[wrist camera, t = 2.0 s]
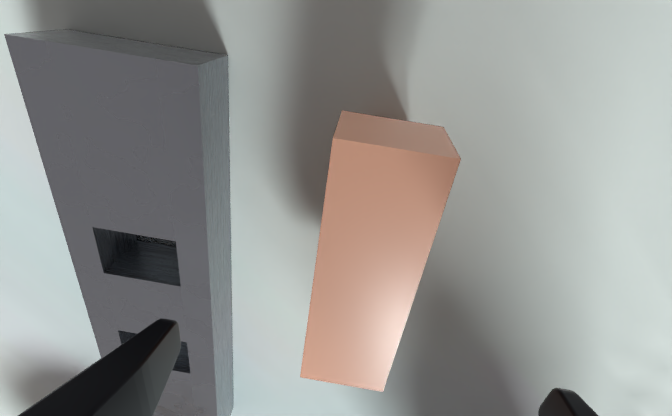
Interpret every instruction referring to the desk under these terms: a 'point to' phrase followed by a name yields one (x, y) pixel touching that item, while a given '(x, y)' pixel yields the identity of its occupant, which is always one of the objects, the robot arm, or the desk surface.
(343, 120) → the peach rectangular block
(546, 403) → the robot arm
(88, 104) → the rail
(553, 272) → the desk surface
